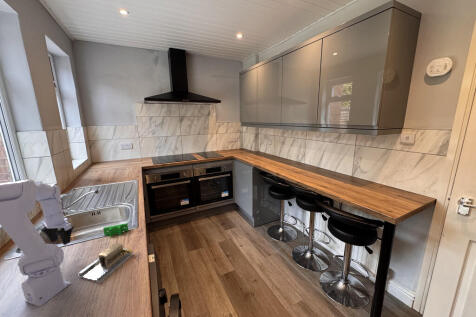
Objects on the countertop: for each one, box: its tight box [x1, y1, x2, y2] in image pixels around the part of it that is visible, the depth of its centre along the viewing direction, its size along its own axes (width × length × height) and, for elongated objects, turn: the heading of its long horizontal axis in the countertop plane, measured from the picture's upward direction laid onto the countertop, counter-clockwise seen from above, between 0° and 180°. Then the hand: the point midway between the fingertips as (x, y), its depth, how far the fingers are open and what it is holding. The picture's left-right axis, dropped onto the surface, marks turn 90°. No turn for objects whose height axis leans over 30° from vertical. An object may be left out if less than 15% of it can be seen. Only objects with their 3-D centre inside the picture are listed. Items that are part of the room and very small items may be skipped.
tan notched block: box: [97, 242, 124, 267], centre depth 82 cm, size 8×4×5 cm, turn 164°
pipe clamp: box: [102, 222, 129, 238], centre depth 103 cm, size 11×4×5 cm, turn 111°
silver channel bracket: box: [77, 247, 134, 284], centre depth 81 cm, size 16×11×3 cm
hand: (60, 242), depth 82 cm, fingers open, 7 cm apart
